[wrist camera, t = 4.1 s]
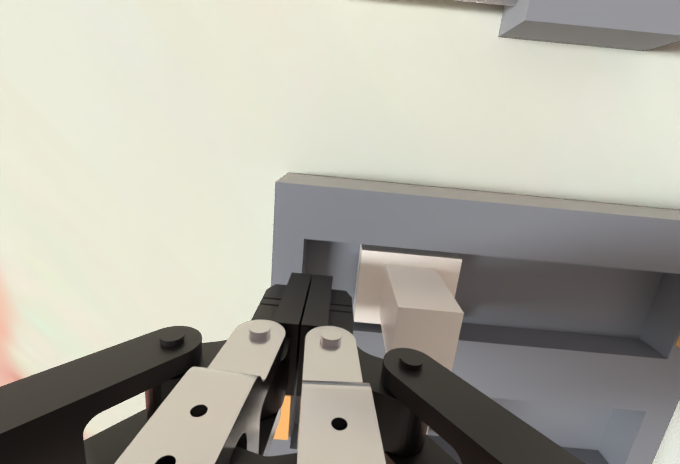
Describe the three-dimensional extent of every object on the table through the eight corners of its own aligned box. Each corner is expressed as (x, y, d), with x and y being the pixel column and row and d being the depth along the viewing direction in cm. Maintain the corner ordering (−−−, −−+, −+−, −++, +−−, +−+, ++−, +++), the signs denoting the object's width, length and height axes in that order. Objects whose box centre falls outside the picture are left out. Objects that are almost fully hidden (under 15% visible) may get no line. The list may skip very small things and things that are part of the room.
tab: (453, 249, 15) (500, 301, 11) (440, 316, 16) (478, 390, 12) (361, 240, 15) (367, 288, 11) (353, 308, 16) (356, 379, 11)
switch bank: (680, 210, 16) (759, 228, 13) (560, 540, 22) (595, 606, 19) (288, 172, 16) (274, 182, 13) (270, 515, 22) (258, 578, 19)
